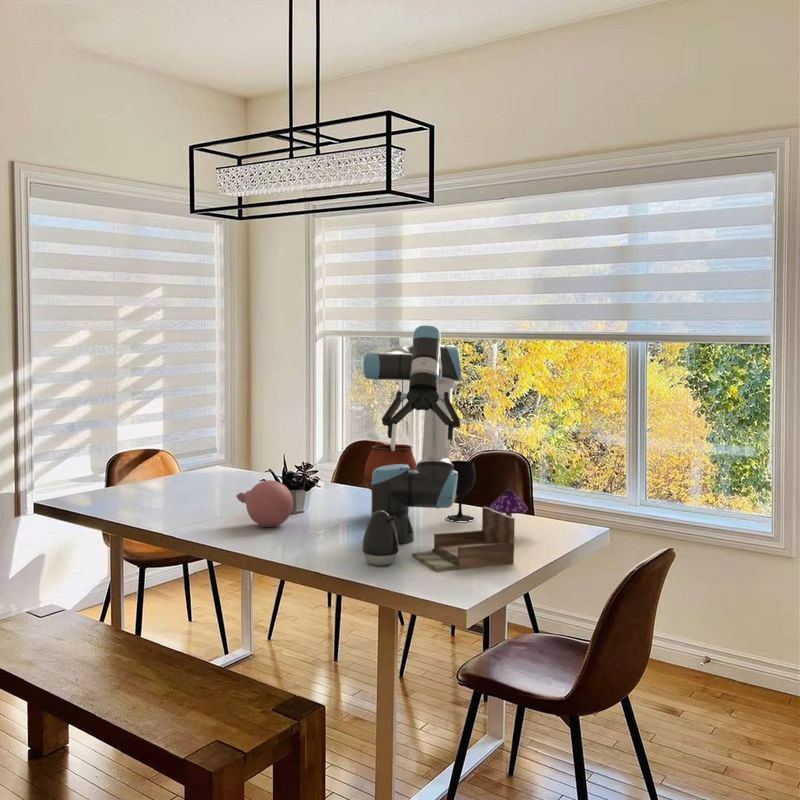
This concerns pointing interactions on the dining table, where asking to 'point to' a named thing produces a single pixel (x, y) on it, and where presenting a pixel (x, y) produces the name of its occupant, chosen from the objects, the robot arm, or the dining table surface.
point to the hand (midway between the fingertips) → (419, 449)
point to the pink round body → (268, 503)
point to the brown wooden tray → (473, 545)
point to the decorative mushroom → (509, 504)
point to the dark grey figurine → (380, 539)
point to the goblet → (388, 459)
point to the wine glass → (463, 485)
